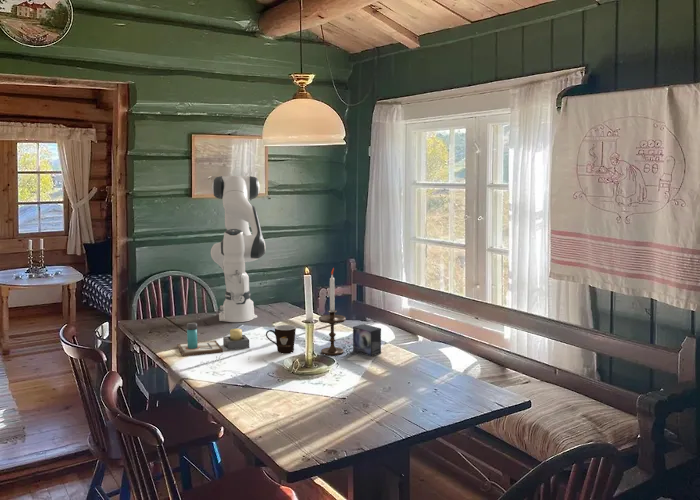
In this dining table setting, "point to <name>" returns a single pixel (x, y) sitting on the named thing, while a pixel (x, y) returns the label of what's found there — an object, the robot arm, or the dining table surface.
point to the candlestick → (332, 322)
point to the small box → (367, 339)
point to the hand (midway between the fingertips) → (235, 301)
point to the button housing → (236, 343)
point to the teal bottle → (192, 335)
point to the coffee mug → (284, 338)
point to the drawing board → (200, 348)
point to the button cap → (236, 334)
